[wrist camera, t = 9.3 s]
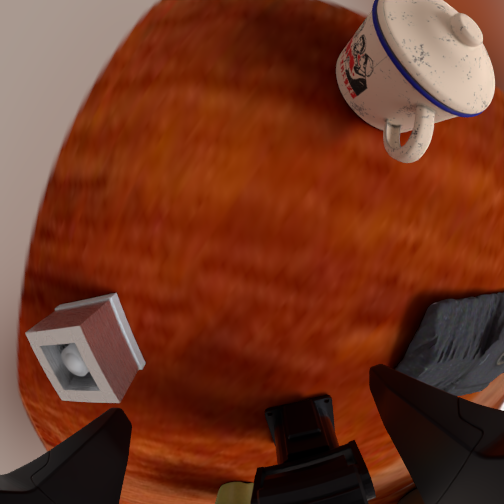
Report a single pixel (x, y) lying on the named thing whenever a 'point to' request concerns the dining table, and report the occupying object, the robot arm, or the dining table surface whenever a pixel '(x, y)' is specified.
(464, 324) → the dark slate chunk
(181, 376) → the dining table surface
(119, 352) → the collar
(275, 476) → the robot arm
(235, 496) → the plant pot
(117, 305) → the shaft base
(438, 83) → the teacup with lid
